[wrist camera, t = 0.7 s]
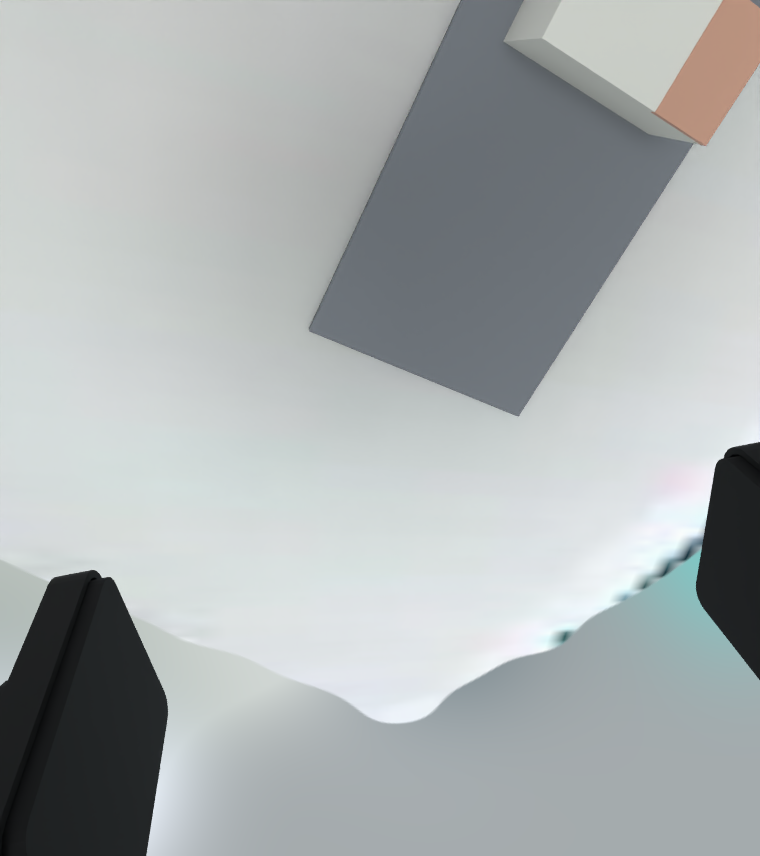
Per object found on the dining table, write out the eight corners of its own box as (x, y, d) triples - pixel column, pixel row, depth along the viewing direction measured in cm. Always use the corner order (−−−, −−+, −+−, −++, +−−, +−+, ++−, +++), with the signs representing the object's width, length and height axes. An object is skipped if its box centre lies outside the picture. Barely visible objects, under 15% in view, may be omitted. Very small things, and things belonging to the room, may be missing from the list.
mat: (544, -180, 27) (548, -183, 26) (777, 5, 31) (782, 5, 31) (308, 328, 36) (309, 331, 36) (516, 413, 41) (518, 416, 40)
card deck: (563, -79, 28) (616, -105, 24) (711, 31, 31) (783, 26, 27) (502, 41, 30) (542, 38, 26) (648, 134, 33) (705, 145, 29)
